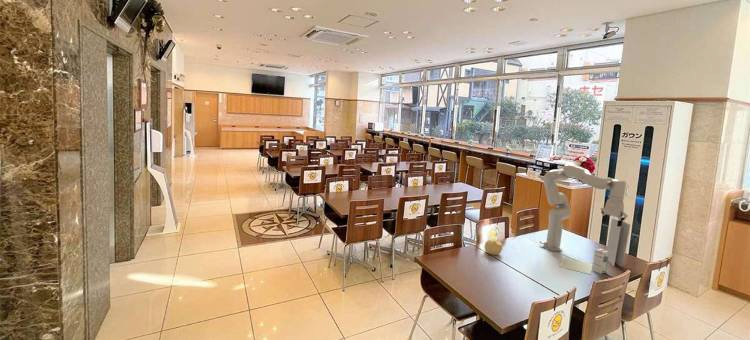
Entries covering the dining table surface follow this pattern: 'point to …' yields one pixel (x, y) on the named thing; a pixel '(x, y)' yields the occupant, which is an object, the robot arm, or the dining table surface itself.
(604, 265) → the syrup box
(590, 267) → the mat
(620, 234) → the upright grey panel
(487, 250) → the sculpture
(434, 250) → the dining table surface
